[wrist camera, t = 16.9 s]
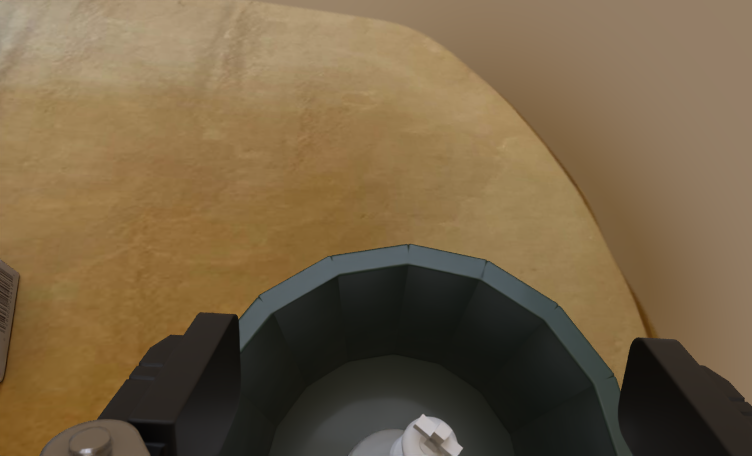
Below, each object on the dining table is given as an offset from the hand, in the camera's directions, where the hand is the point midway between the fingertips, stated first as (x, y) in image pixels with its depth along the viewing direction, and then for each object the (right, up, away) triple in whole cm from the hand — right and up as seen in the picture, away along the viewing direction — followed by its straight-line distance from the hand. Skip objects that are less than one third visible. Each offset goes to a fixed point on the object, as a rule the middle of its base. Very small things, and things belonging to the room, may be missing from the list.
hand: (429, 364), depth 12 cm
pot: (0, -9, +16) cm, 19 cm away
